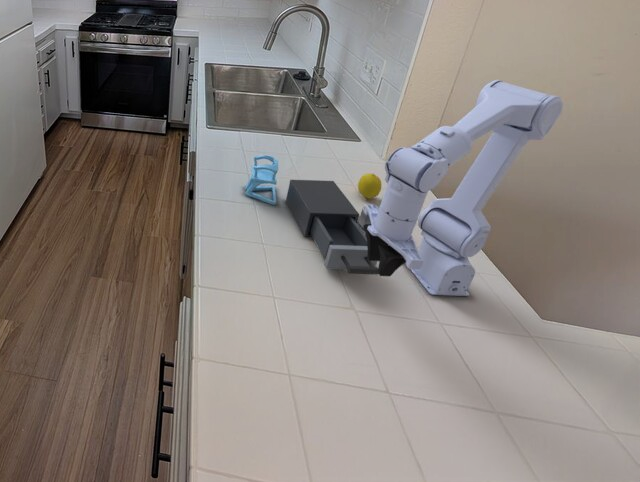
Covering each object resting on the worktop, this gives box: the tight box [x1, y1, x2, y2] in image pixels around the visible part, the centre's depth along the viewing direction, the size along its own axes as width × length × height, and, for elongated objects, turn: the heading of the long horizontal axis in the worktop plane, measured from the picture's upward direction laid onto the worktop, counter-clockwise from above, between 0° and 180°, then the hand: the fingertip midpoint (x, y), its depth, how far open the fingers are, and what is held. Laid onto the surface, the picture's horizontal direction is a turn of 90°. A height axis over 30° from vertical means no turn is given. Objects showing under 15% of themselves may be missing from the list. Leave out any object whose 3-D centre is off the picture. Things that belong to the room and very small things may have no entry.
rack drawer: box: [309, 215, 379, 276], centre depth 87 cm, size 17×10×6 cm, turn 178°
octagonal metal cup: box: [357, 204, 380, 230], centre depth 97 cm, size 6×6×5 cm
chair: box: [244, 154, 279, 206], centre depth 108 cm, size 8×8×12 cm
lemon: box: [357, 173, 382, 199], centre depth 108 cm, size 6×6×8 cm
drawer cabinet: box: [285, 179, 360, 239], centre depth 99 cm, size 14×12×8 cm
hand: (378, 266), depth 74 cm, fingers open, 3 cm apart
